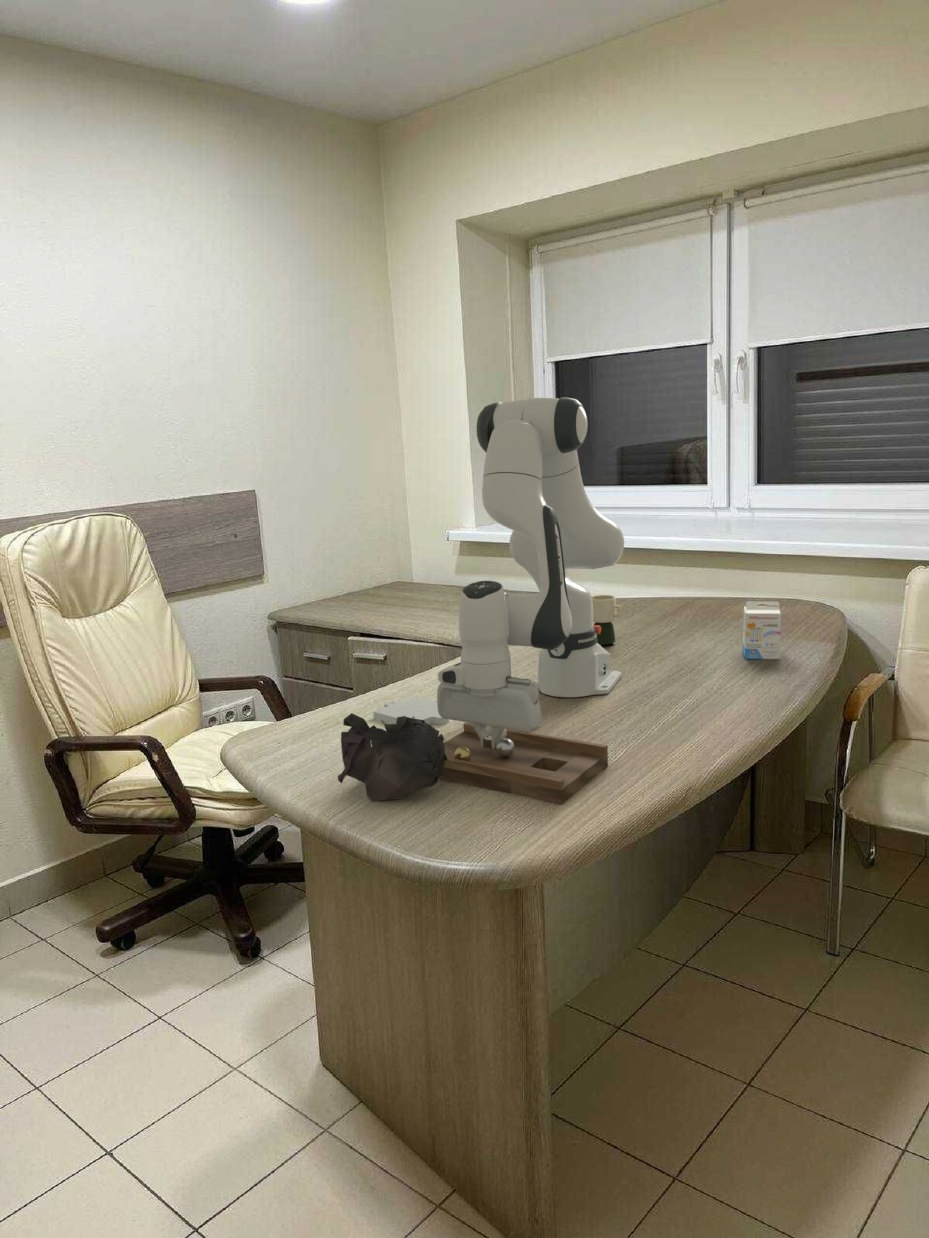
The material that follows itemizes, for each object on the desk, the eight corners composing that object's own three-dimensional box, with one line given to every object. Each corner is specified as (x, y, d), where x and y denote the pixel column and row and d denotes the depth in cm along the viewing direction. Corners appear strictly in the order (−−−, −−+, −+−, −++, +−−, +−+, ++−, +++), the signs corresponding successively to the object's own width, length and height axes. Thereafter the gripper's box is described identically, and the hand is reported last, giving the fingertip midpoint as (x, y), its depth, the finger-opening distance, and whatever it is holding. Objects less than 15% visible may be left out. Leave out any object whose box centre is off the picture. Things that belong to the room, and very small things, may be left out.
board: (467, 741, 179) (466, 722, 178) (608, 766, 162) (607, 745, 162) (413, 773, 164) (411, 752, 163) (561, 804, 148) (560, 781, 147)
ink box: (744, 659, 225) (744, 606, 222) (742, 650, 233) (742, 599, 230) (780, 659, 223) (781, 606, 220) (777, 650, 231) (778, 599, 228)
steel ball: (518, 737, 163) (518, 755, 163) (502, 734, 165) (502, 752, 165) (507, 742, 160) (508, 761, 161) (491, 740, 162) (492, 758, 163)
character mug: (628, 643, 246) (627, 596, 243) (615, 649, 241) (614, 601, 238) (592, 639, 253) (591, 593, 250) (579, 645, 247) (578, 598, 244)
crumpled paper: (324, 803, 152) (436, 821, 145) (325, 718, 150) (437, 732, 143) (362, 778, 165) (465, 793, 158) (362, 699, 163) (468, 712, 156)
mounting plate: (366, 717, 198) (365, 709, 198) (409, 702, 207) (408, 694, 207) (424, 734, 186) (423, 725, 185) (467, 716, 195) (466, 708, 195)
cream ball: (493, 737, 173) (492, 717, 172) (511, 740, 171) (510, 720, 170) (481, 744, 170) (480, 723, 169) (500, 747, 168) (499, 726, 167)
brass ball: (460, 758, 163) (459, 743, 163) (474, 761, 162) (473, 745, 161) (451, 764, 161) (450, 748, 160) (465, 767, 159) (464, 751, 158)
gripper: (546, 675, 158) (549, 750, 161) (449, 663, 170) (454, 733, 173) (528, 685, 153) (531, 762, 156) (430, 672, 165) (434, 744, 167)
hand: (490, 747), depth 164 cm, fingers closed
